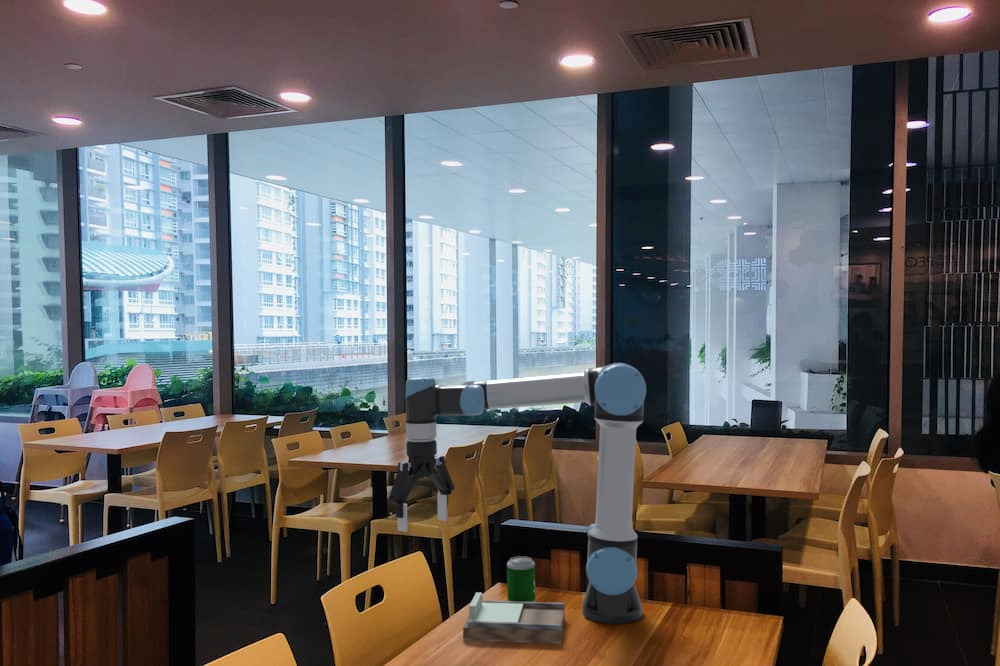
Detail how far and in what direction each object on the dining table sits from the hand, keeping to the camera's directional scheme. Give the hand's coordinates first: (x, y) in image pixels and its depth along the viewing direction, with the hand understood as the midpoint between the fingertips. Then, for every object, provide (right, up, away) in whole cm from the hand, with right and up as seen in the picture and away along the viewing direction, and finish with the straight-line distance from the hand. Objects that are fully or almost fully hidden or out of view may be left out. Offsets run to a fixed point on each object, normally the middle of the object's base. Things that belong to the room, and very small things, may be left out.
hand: (423, 525), depth 191 cm
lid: (+18, -21, -3) cm, 28 cm away
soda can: (+25, -25, +15) cm, 38 cm away
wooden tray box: (+23, -25, -3) cm, 34 cm away
